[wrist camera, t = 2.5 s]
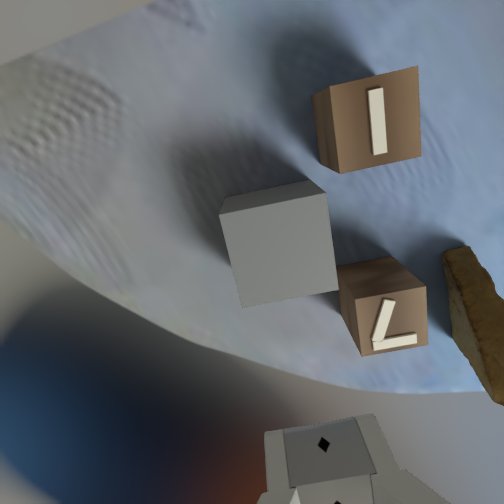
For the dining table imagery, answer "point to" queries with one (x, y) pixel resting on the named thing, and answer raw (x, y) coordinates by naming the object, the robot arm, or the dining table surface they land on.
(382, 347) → the walnut block seven
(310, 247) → the grey block
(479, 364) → the rock
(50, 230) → the dining table surface
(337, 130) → the walnut block one
